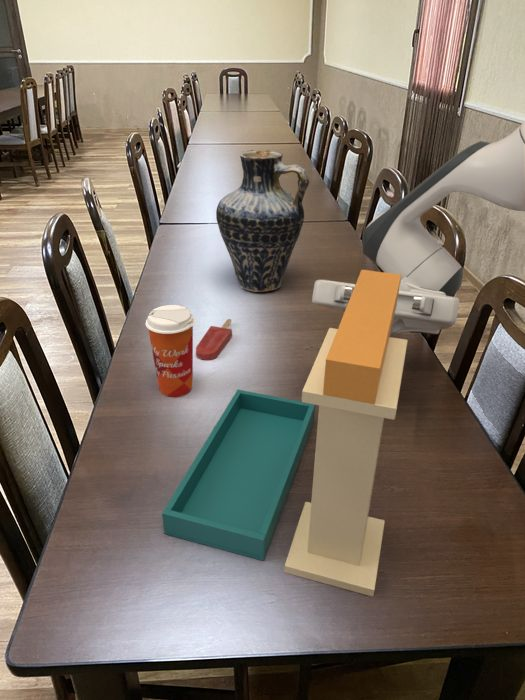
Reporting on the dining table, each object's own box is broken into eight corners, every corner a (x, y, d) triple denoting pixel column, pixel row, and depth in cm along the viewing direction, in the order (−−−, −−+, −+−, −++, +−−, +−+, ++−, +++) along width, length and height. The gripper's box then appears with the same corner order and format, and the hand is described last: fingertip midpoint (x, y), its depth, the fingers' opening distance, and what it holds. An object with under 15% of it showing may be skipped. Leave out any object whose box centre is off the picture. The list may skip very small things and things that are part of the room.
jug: (206, 294, 123) (199, 158, 108) (234, 264, 139) (232, 142, 124) (293, 307, 118) (300, 166, 102) (312, 274, 134) (320, 148, 118)
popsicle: (240, 317, 110) (214, 354, 98) (240, 324, 111) (214, 362, 99) (219, 314, 111) (191, 351, 99) (219, 321, 112) (191, 358, 100)
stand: (306, 502, 70) (319, 326, 56) (384, 520, 67) (417, 341, 54) (281, 579, 60) (290, 388, 46) (372, 605, 57) (409, 411, 44)
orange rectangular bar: (358, 298, 62) (361, 269, 60) (396, 303, 61) (401, 274, 59) (322, 394, 46) (325, 359, 44) (374, 404, 45) (380, 368, 43)
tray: (237, 407, 87) (237, 389, 85) (313, 422, 84) (315, 404, 82) (164, 534, 65) (161, 513, 63) (263, 561, 62) (263, 540, 60)
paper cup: (146, 398, 89) (137, 323, 81) (160, 373, 95) (153, 301, 88) (193, 403, 88) (188, 327, 80) (203, 377, 94) (200, 305, 87)
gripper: (322, 276, 86) (308, 263, 73) (456, 294, 81) (466, 283, 67) (316, 315, 86) (300, 309, 73) (448, 336, 81) (458, 333, 68)
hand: (381, 297), depth 70 cm, fingers open, 8 cm apart
